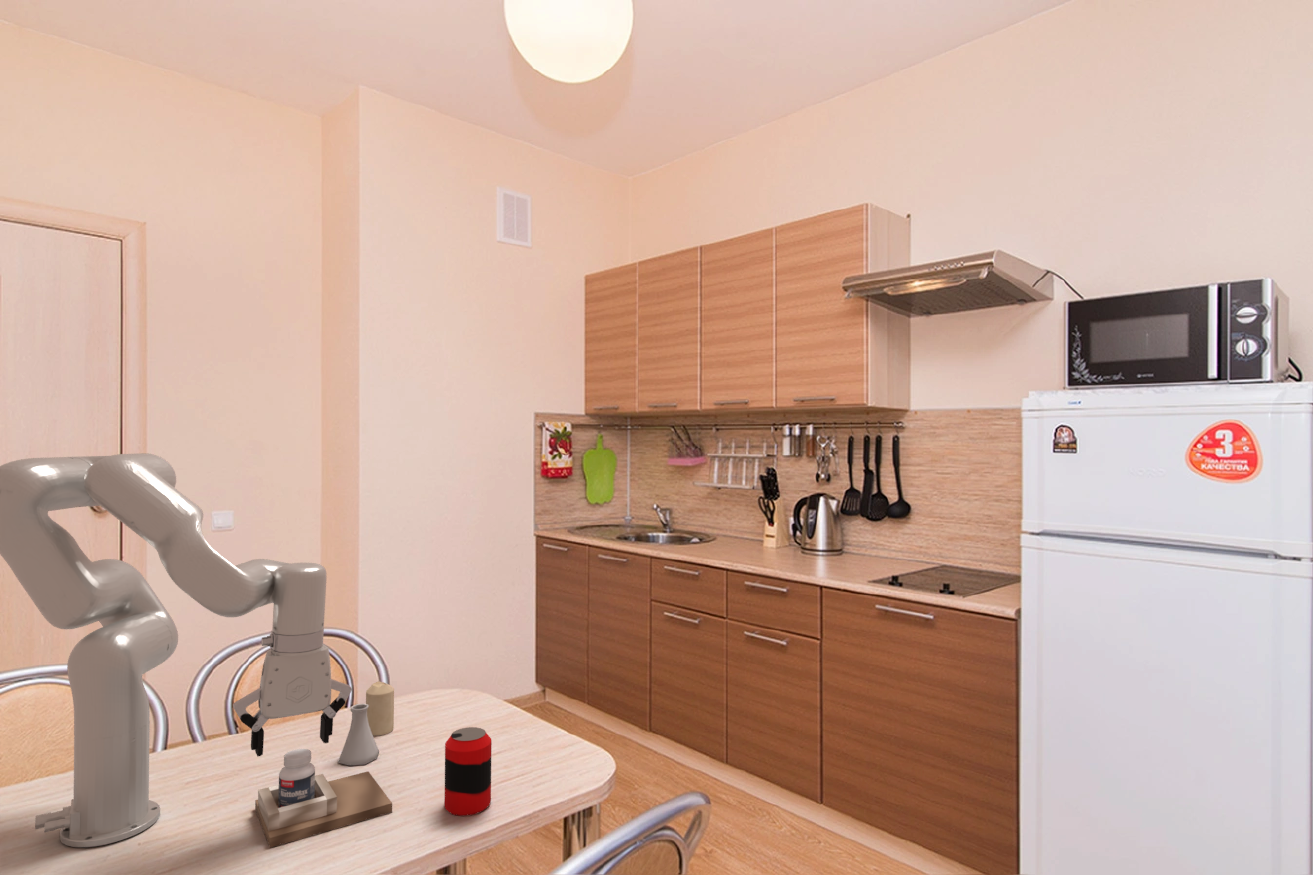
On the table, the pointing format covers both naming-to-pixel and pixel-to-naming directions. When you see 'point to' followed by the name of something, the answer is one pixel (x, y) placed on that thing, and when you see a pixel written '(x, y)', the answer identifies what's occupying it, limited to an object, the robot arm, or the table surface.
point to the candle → (380, 708)
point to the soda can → (467, 771)
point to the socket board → (321, 808)
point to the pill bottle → (296, 778)
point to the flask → (359, 739)
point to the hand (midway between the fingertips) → (292, 746)
